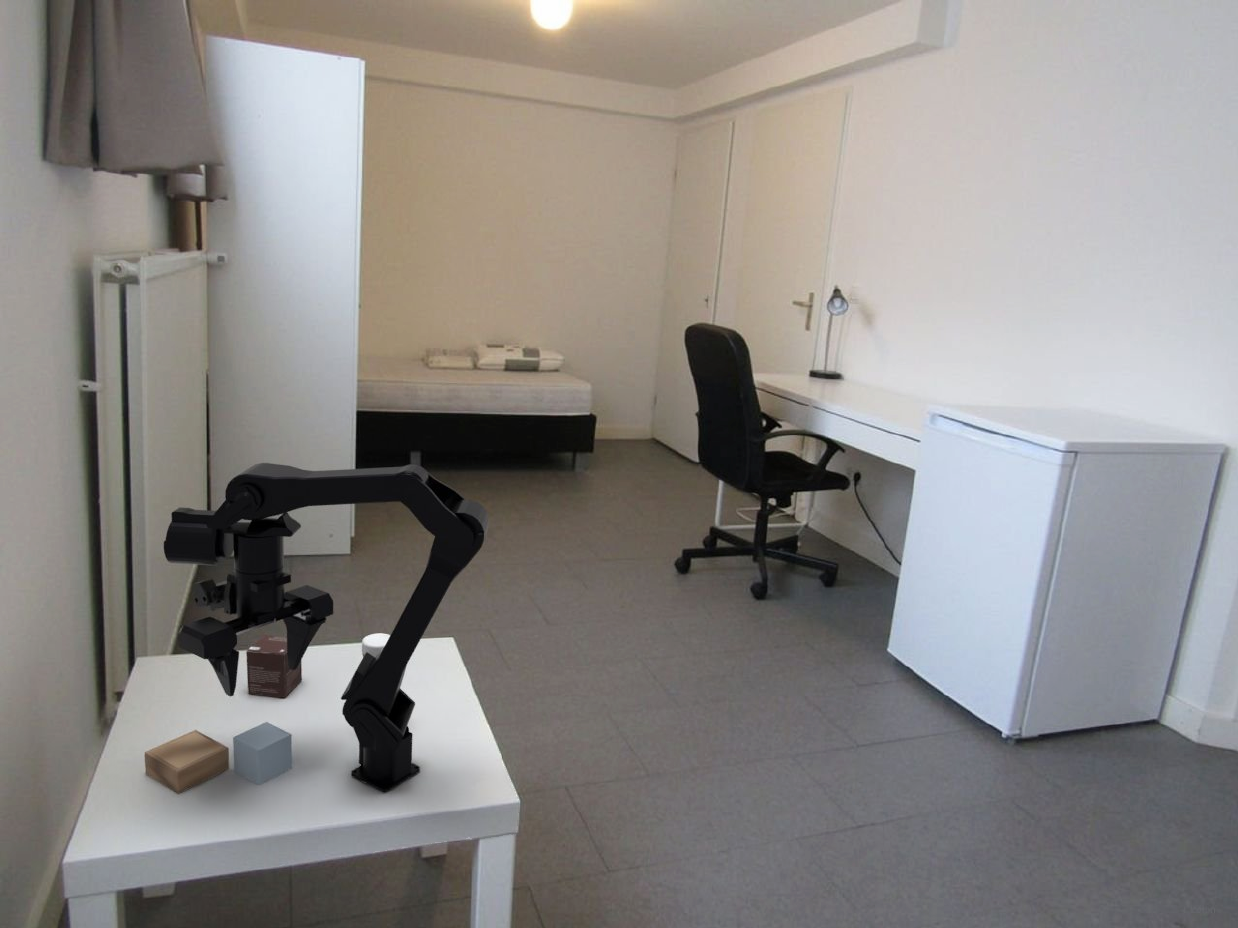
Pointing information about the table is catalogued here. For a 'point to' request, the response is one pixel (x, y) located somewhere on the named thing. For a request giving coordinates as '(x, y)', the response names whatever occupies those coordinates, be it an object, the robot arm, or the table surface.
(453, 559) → the robot arm
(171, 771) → the base block
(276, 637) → the box
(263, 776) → the blue cube
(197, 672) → the table surface
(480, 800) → the table surface
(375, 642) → the sprinkles bottle
